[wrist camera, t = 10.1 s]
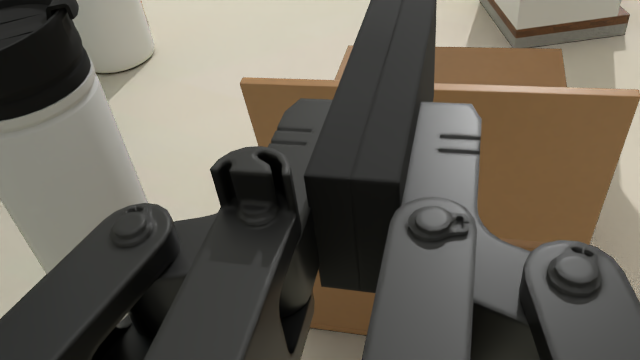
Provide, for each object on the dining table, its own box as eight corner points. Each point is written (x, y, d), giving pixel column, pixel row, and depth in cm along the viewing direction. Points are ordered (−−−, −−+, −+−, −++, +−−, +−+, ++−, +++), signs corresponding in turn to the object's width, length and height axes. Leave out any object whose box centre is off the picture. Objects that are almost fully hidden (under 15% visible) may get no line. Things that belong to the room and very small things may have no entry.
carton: (556, 362, 31) (590, 240, 25) (303, 327, 35) (279, 213, 29) (542, 161, 43) (562, 47, 37) (356, 150, 47) (347, 44, 41)
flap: (588, 239, 25) (588, 246, 25) (282, 212, 29) (280, 218, 28) (639, 89, 19) (640, 97, 19) (242, 77, 23) (239, 83, 22)
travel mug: (196, 338, 35) (67, 25, 22) (83, 371, 34) (-121, 64, 21) (187, 263, 39) (76, -32, 27) (87, 289, 39) (-77, -2, 26)
